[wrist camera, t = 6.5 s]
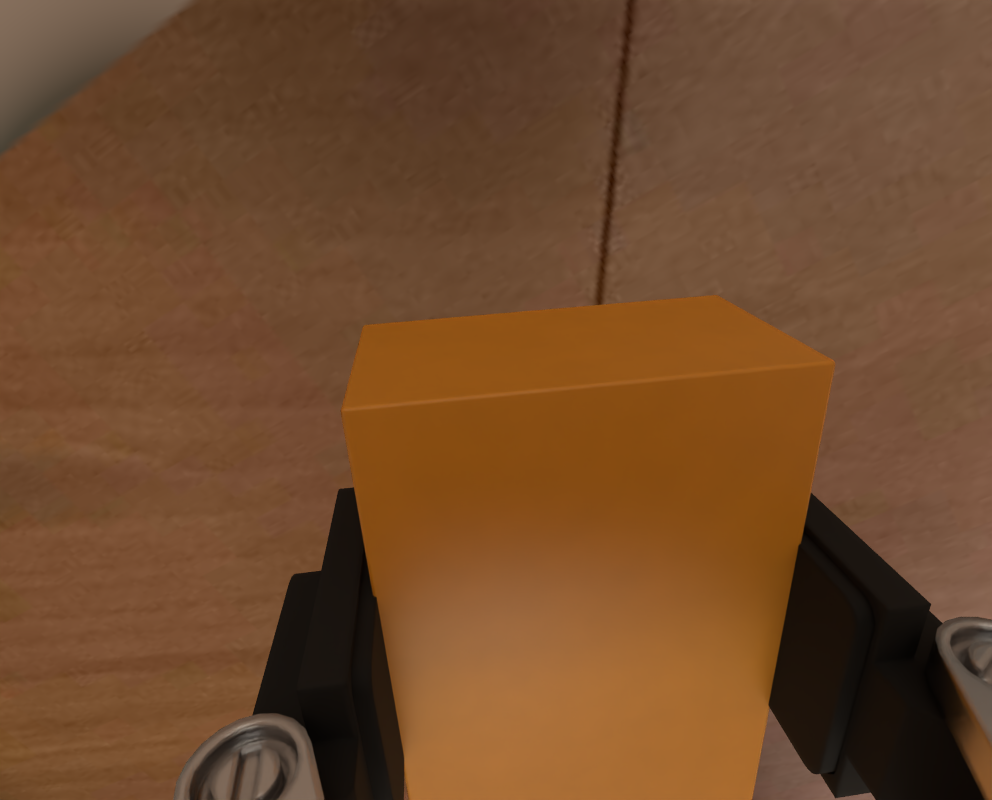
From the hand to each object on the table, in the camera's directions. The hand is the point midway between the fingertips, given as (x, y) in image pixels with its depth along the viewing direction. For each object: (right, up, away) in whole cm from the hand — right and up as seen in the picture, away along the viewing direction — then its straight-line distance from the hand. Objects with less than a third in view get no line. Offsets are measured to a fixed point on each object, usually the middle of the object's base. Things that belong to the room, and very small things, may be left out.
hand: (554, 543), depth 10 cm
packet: (0, 0, +1) cm, 0 cm away
